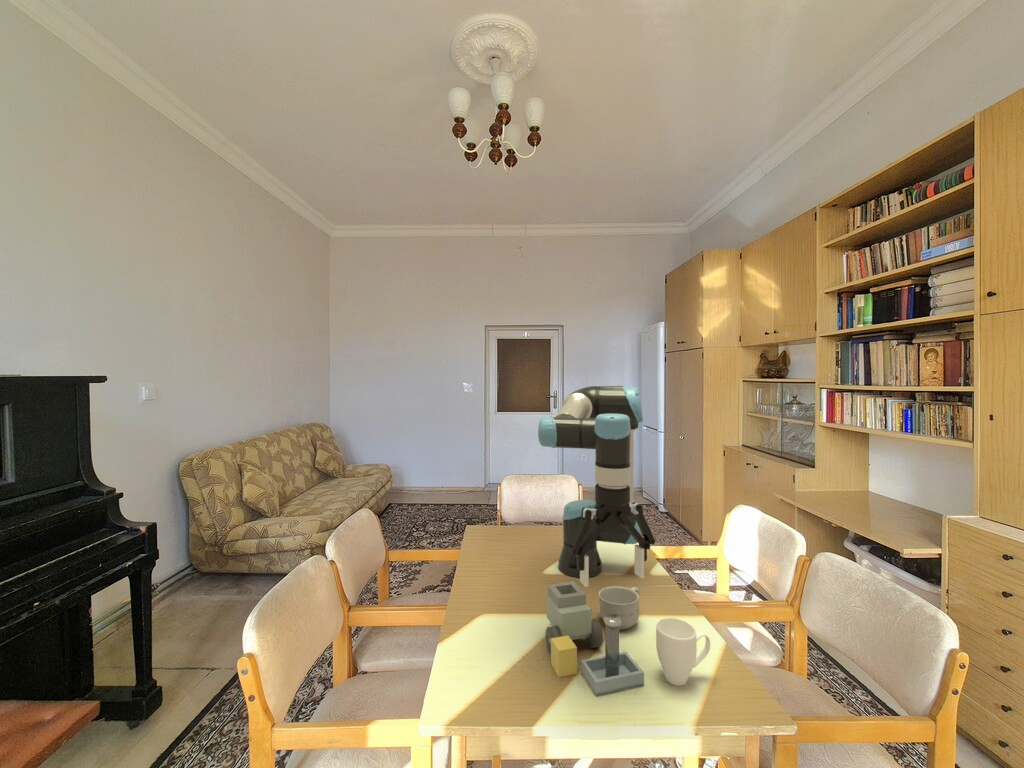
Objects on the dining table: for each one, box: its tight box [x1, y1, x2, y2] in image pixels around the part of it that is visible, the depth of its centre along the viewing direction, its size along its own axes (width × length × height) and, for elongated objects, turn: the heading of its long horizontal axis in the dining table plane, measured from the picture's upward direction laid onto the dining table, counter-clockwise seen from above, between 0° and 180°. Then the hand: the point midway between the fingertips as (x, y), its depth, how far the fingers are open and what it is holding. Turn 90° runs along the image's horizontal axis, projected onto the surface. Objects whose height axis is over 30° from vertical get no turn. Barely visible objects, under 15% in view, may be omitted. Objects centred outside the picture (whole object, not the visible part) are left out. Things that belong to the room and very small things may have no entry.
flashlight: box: [603, 614, 621, 678], centre depth 95 cm, size 4×4×13 cm
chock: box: [550, 635, 578, 678], centre depth 99 cm, size 4×5×6 cm
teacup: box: [598, 585, 640, 630], centre depth 119 cm, size 14×11×8 cm
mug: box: [655, 617, 711, 687], centre depth 96 cm, size 12×8×11 cm
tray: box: [580, 651, 645, 698], centre depth 95 cm, size 11×7×3 cm, turn 106°
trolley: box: [545, 580, 604, 655], centre depth 109 cm, size 13×12×12 cm
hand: (612, 579), depth 96 cm, fingers open, 13 cm apart
